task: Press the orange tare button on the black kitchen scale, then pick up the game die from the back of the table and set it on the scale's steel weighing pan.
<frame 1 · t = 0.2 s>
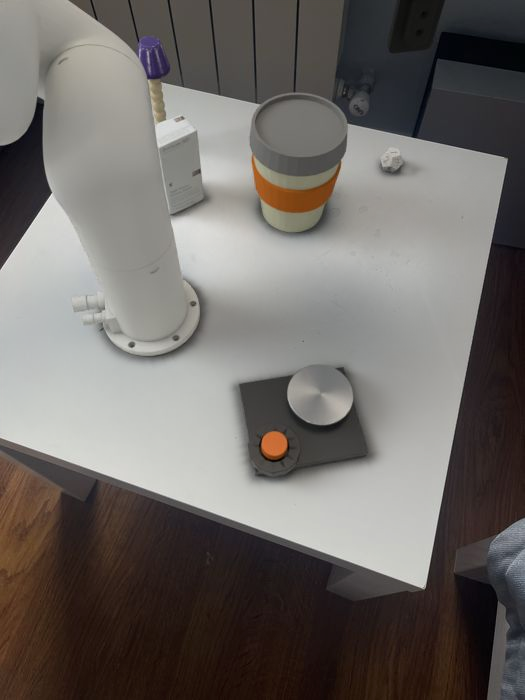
hand: (387, 10, 41), 37 cm above the table, tool pointing down, fingers open, 9 cm apart
weighing pan: (317, 405, 65), resting on scale
tare button: (274, 445, 59), point 3 cm above the table, slide at 0.1 cm
toy lamp: (166, 145, 86), on the table
cosmetic box: (181, 199, 81), on the table
game die: (389, 168, 85), on the table
reusable coffee cup: (291, 210, 80), on the table
scale: (300, 421, 64), on the table
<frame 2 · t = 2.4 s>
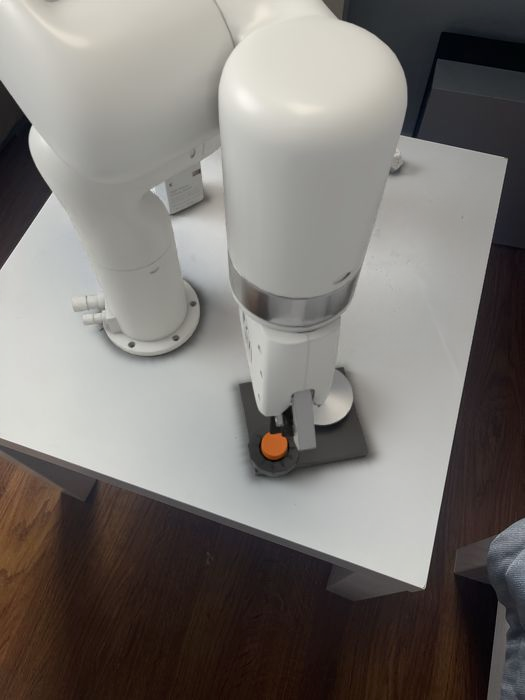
hand: (280, 392, 46), 18 cm above the table, tool pointing down, fingers open, 5 cm apart
nothing on the table moved.
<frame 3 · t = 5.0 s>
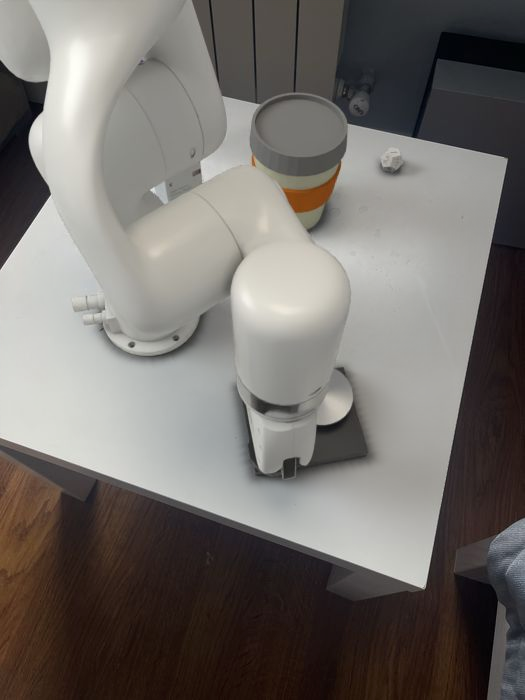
hand: (276, 447, 58), 4 cm above the table, tool pointing down, fingers closed
tare button: (274, 447, 59), point 3 cm above the table, slide at -0.6 cm, touching gripper
everything else where it was.
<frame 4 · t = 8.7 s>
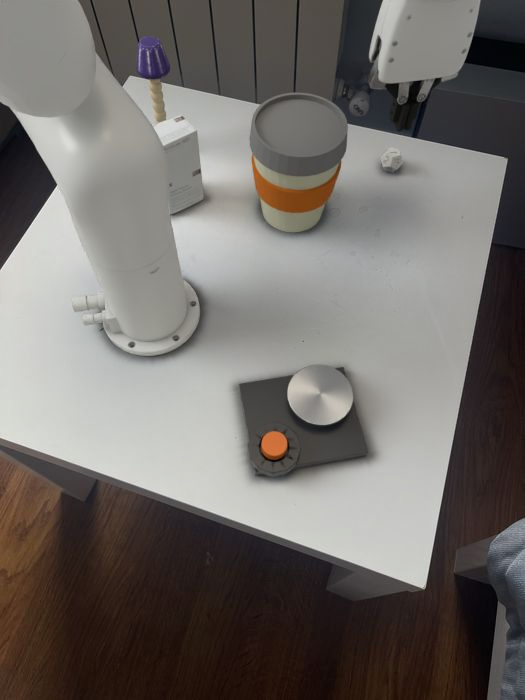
hand: (400, 123, 68), 14 cm above the table, tool pointing down, fingers closed
tare button: (274, 445, 59), point 3 cm above the table, slide at 0.1 cm
everything else where it was.
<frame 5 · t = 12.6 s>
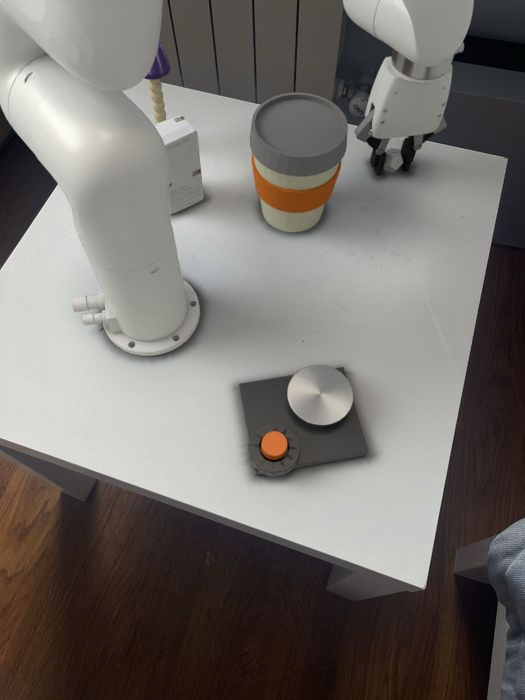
hand: (389, 166, 84), 0 cm above the table, tool pointing down, fingers closed on game die, 3 cm apart
game die: (389, 168, 85), on the table, touching gripper
everything else where it was.
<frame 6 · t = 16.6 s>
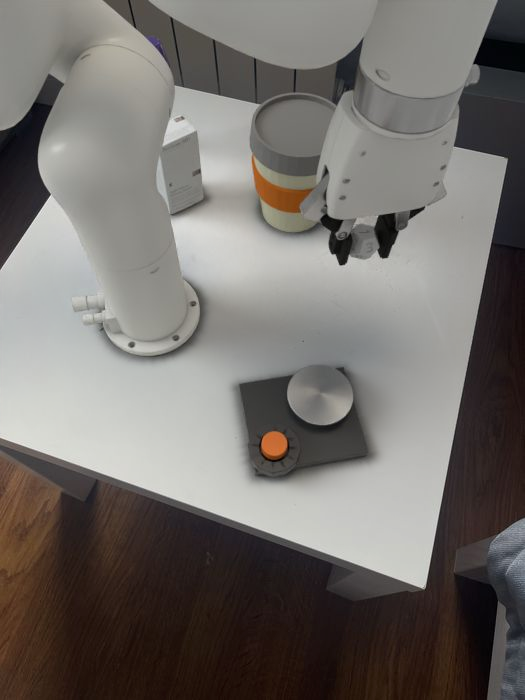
hand: (359, 249, 55), 17 cm above the table, tool pointing down, fingers closed on game die, 3 cm apart
game die: (358, 252, 55), point 17 cm above the table, touching gripper
everything else where it was.
when the fingers open (4 cm above the table, at t = 20.9 s): game die stays where it is, resting on weighing pan.
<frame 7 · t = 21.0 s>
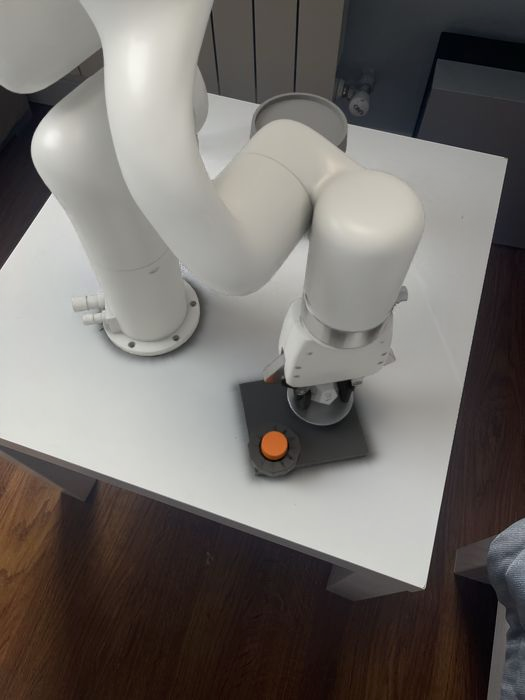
hand: (322, 393, 61), 4 cm above the table, tool pointing down, fingers open, 4 cm apart
game die: (321, 395, 62), point 3 cm above the table, touching weighing pan
everything else where it was.
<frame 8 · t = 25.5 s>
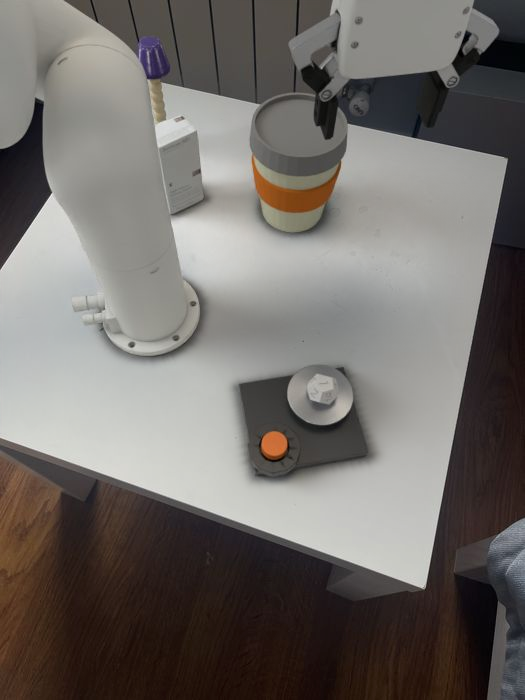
hand: (375, 123, 50), 26 cm above the table, tool pointing down, fingers open, 9 cm apart
nothing on the table moved.
at the end: tare button pushed in 0.9 cm at the most during the clip, back to where it started at the end; tare button slide at 0.1 cm; game die 0.1 cm off-centre on the weighing pan, point 3.3 cm above the weighing pan's base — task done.
